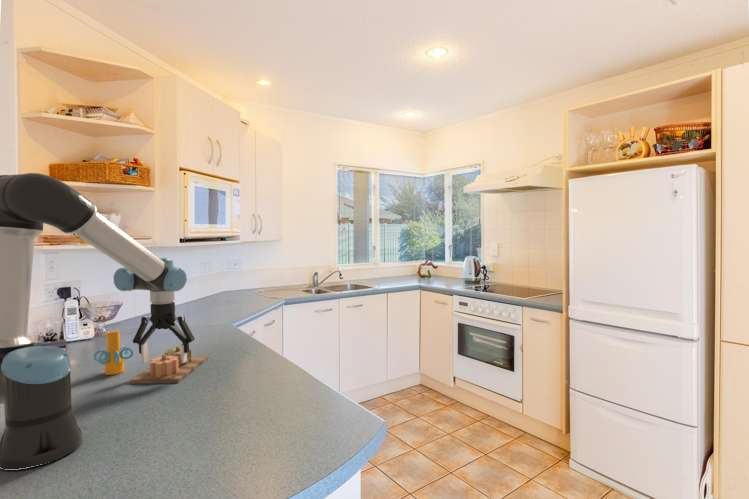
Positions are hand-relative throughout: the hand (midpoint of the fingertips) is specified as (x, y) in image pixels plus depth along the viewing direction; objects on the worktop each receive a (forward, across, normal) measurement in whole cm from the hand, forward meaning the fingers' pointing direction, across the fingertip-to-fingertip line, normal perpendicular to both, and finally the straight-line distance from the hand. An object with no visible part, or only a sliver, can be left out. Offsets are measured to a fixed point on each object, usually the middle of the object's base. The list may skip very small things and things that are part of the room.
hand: (164, 362), depth 139 cm
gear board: (+5, 0, -5) cm, 7 cm away
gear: (+4, 0, 0) cm, 4 cm away
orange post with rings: (+5, +20, -4) cm, 21 cm away
